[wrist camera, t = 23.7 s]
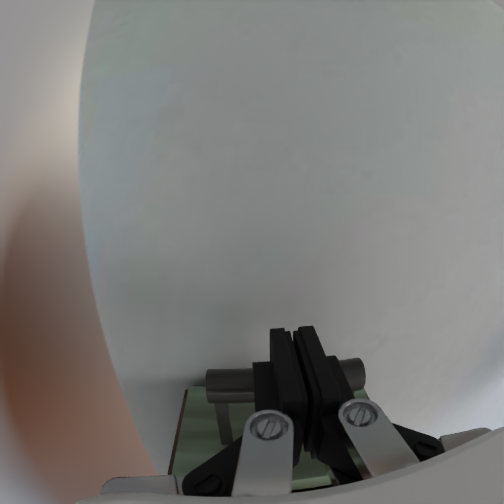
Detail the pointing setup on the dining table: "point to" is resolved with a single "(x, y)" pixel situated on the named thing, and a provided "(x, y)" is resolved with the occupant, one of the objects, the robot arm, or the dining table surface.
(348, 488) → the robot arm
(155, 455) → the dining table surface
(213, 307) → the dining table surface
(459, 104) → the dining table surface
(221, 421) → the drawer
